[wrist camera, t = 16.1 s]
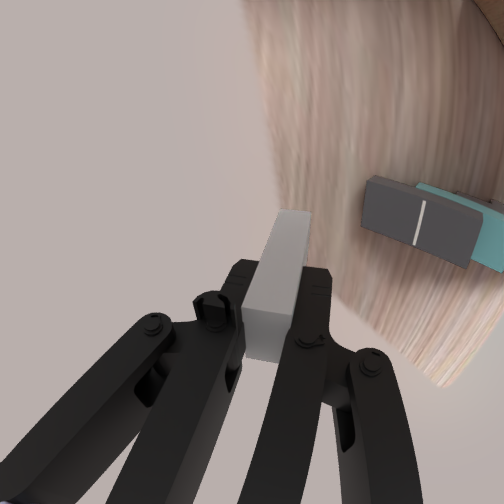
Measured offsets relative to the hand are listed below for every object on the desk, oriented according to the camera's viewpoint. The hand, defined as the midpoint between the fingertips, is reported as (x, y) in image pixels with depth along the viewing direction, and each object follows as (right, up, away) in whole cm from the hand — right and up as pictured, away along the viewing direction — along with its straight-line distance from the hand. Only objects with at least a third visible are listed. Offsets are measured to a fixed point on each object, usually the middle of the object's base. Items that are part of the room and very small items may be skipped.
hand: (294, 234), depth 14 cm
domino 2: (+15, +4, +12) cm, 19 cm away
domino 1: (+10, +4, +13) cm, 17 cm away
